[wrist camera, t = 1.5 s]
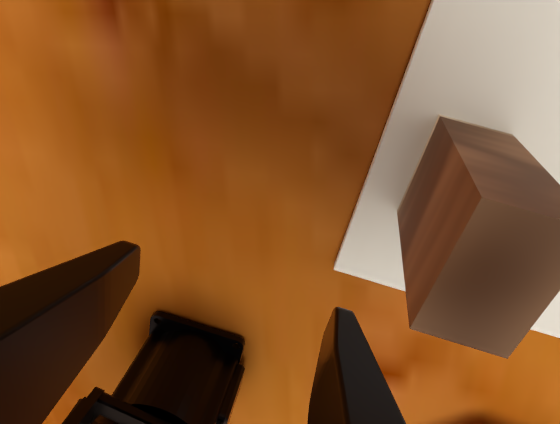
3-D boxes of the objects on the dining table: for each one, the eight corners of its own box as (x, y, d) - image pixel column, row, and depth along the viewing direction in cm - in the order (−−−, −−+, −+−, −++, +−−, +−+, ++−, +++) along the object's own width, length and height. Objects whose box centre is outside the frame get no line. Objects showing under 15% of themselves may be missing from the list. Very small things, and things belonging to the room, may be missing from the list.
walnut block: (396, 211, 20) (409, 328, 13) (439, 114, 18) (481, 197, 11) (460, 229, 20) (507, 358, 13) (513, 134, 17) (604, 232, 11)
